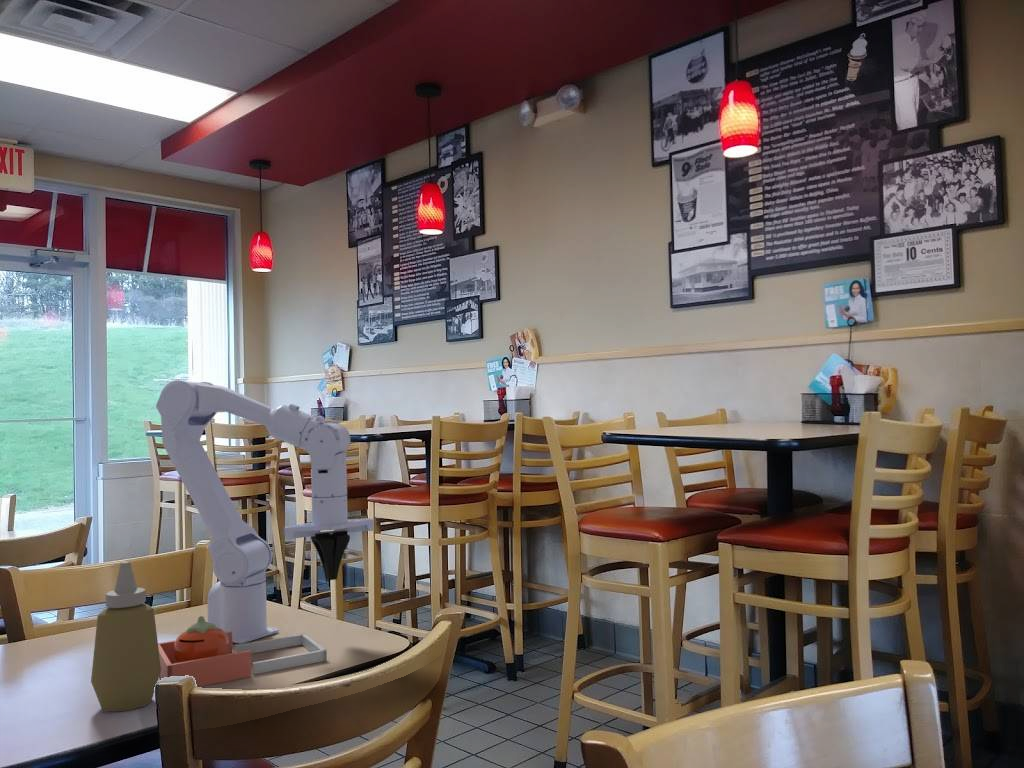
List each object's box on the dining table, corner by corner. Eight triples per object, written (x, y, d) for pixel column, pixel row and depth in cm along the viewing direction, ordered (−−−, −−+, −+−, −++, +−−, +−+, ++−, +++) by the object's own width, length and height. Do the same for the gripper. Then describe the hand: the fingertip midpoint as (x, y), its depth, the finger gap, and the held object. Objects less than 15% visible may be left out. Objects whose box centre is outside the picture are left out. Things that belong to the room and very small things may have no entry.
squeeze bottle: (107, 695, 105) (106, 558, 106) (170, 691, 106) (168, 555, 107) (79, 718, 97) (78, 570, 98) (147, 714, 98) (146, 567, 99)
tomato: (162, 680, 111) (162, 622, 111) (191, 663, 118) (191, 609, 118) (212, 681, 110) (211, 623, 110) (238, 664, 117) (237, 609, 117)
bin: (231, 654, 122) (231, 631, 122) (251, 676, 111) (250, 651, 111) (154, 667, 117) (154, 643, 117) (167, 692, 106) (167, 665, 106)
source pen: (304, 642, 127) (304, 633, 127) (326, 660, 118) (326, 650, 118) (235, 654, 122) (235, 645, 122) (253, 674, 112) (253, 663, 112)
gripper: (292, 501, 124) (294, 589, 124) (379, 494, 132) (381, 577, 131) (280, 498, 130) (281, 581, 130) (364, 491, 138) (366, 570, 137)
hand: (331, 578), depth 131 cm, fingers closed
